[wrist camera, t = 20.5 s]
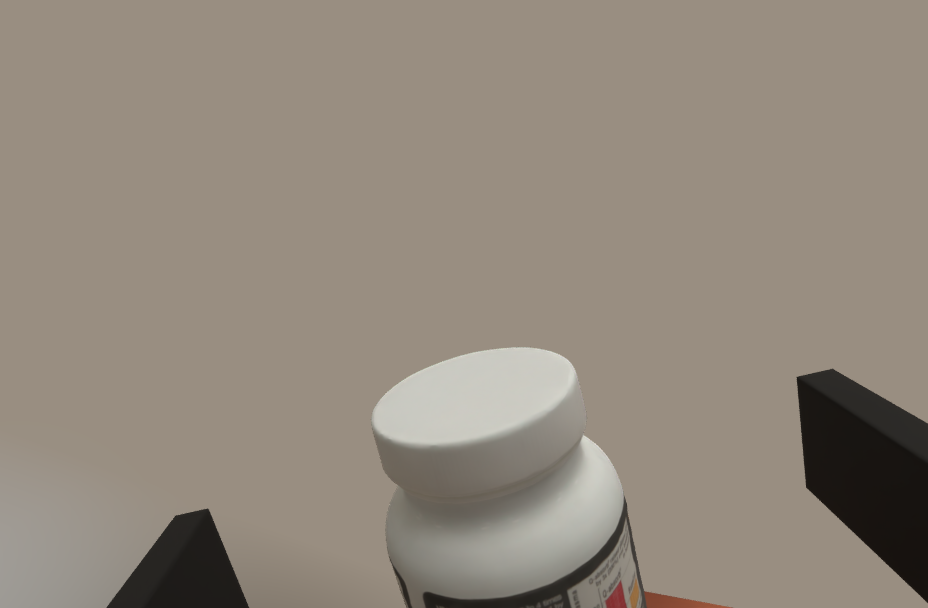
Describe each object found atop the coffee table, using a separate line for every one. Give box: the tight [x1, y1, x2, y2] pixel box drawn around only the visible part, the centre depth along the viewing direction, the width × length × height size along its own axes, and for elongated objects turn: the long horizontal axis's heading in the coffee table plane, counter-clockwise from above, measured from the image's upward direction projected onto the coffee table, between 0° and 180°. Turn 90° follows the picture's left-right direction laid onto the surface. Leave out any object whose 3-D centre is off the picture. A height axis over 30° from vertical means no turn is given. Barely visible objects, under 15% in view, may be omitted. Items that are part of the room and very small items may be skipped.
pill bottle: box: [371, 347, 647, 608], centre depth 14 cm, size 6×6×10 cm
